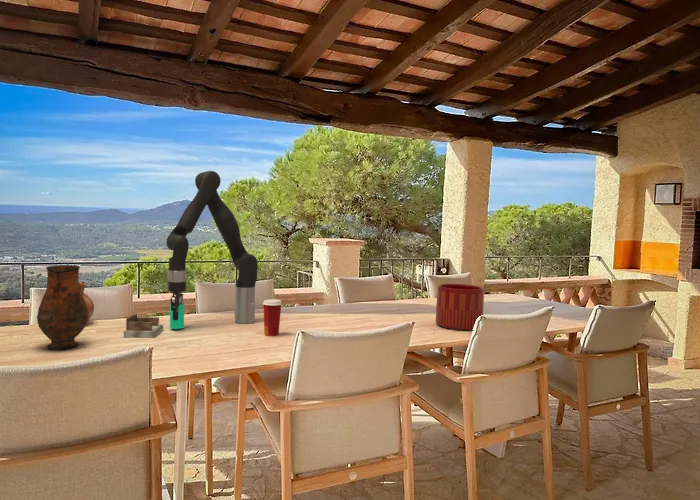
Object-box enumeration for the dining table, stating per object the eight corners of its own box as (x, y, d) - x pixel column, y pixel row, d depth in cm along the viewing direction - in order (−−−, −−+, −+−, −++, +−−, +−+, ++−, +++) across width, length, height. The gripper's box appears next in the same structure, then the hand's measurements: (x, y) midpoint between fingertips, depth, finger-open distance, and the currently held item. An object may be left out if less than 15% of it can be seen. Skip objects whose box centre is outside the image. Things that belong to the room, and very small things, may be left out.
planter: (463, 333, 235) (466, 290, 233) (426, 324, 252) (427, 284, 251) (491, 328, 250) (493, 287, 249) (454, 320, 267) (455, 282, 266)
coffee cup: (284, 333, 220) (285, 300, 219) (275, 337, 212) (276, 302, 211) (267, 331, 223) (268, 298, 222) (258, 335, 215) (259, 301, 214)
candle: (171, 325, 223) (171, 299, 223) (185, 325, 224) (185, 299, 223) (168, 328, 218) (168, 301, 217) (182, 328, 218) (182, 301, 217)
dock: (163, 330, 218) (163, 313, 218) (154, 337, 204) (154, 319, 204) (134, 329, 217) (134, 312, 216) (123, 337, 203) (123, 319, 203)
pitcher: (29, 353, 176) (29, 268, 174) (48, 339, 196) (49, 262, 194) (82, 351, 180) (82, 269, 178) (95, 338, 201) (95, 263, 199)
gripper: (182, 282, 213) (182, 322, 214) (189, 278, 227) (189, 315, 228) (164, 282, 212) (164, 322, 213) (172, 278, 226) (172, 315, 227)
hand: (176, 318), depth 221 cm, fingers closed on candle, 5 cm apart
